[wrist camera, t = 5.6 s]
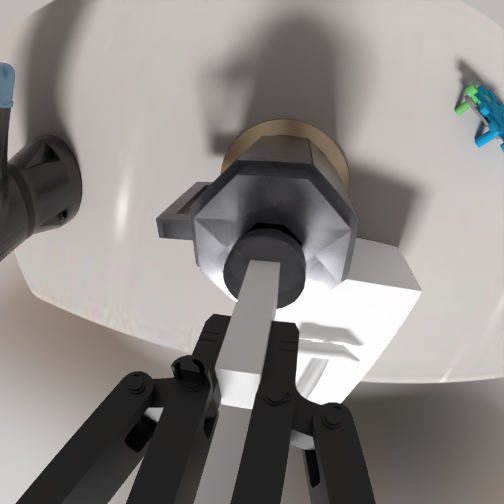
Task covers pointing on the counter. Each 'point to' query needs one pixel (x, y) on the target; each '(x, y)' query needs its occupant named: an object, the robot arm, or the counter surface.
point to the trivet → (296, 130)
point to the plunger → (268, 249)
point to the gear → (485, 112)
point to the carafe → (271, 211)
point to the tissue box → (352, 322)
